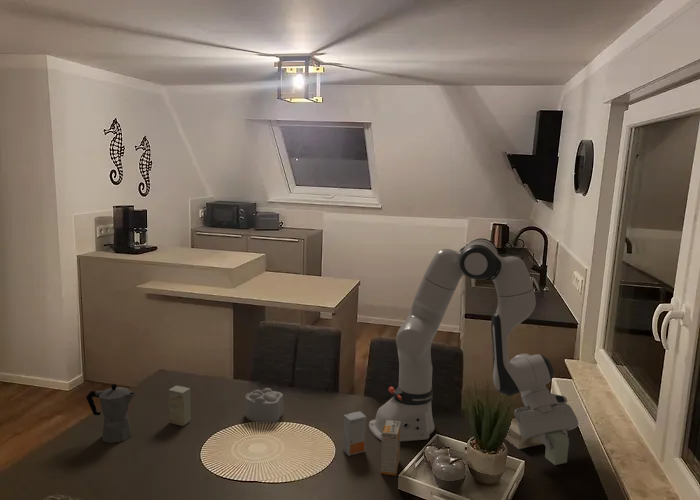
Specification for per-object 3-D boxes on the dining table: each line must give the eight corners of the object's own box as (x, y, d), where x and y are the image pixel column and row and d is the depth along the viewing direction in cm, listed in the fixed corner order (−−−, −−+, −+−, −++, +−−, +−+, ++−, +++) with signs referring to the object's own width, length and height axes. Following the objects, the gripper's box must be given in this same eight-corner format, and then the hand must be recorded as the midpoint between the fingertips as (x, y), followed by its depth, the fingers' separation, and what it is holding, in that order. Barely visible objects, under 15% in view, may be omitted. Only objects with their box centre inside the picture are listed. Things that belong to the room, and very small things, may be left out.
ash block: (518, 450, 171) (519, 435, 170) (499, 435, 180) (500, 421, 179) (543, 444, 175) (544, 430, 174) (523, 429, 184) (524, 416, 183)
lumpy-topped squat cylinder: (275, 424, 184) (275, 400, 183) (240, 420, 187) (239, 396, 185) (285, 410, 194) (285, 388, 193) (251, 407, 197) (251, 384, 195)
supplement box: (396, 476, 155) (398, 434, 153) (380, 474, 156) (381, 432, 154) (400, 461, 163) (401, 420, 161) (384, 459, 164) (385, 419, 162)
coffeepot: (142, 429, 180) (139, 378, 177) (132, 443, 170) (129, 390, 167) (95, 429, 179) (92, 378, 176) (82, 443, 170) (78, 390, 167)
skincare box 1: (168, 423, 184) (167, 389, 182) (177, 417, 188) (176, 384, 186) (183, 426, 182) (182, 392, 180) (192, 420, 186) (190, 387, 184)
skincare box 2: (348, 456, 165) (349, 420, 163) (342, 450, 169) (342, 414, 167) (365, 452, 168) (366, 416, 166) (359, 445, 171) (360, 410, 169)
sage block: (555, 465, 162) (557, 440, 161) (544, 457, 166) (546, 433, 165) (566, 462, 164) (569, 438, 162) (556, 454, 168) (558, 431, 167)
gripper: (517, 405, 165) (536, 450, 158) (569, 396, 172) (590, 439, 165) (507, 412, 170) (525, 456, 163) (558, 403, 177) (578, 445, 170)
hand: (558, 447), depth 164 cm, fingers closed on sage block, 4 cm apart
